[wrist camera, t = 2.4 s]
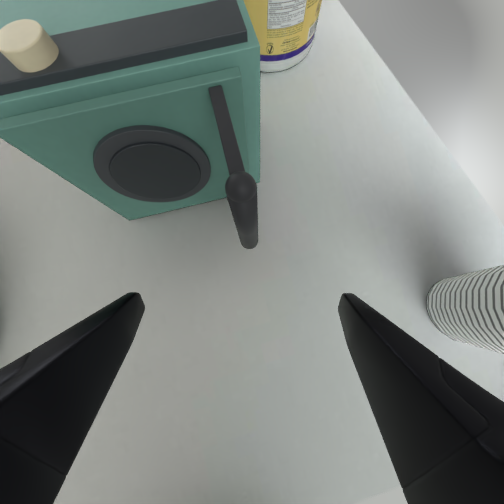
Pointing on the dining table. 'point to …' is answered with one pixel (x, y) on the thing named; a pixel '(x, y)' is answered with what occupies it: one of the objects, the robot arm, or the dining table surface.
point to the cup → (471, 308)
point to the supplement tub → (283, 30)
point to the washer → (123, 51)
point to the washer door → (151, 147)
